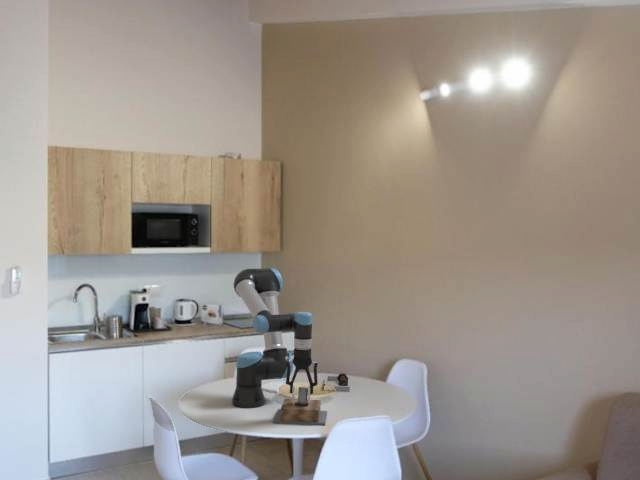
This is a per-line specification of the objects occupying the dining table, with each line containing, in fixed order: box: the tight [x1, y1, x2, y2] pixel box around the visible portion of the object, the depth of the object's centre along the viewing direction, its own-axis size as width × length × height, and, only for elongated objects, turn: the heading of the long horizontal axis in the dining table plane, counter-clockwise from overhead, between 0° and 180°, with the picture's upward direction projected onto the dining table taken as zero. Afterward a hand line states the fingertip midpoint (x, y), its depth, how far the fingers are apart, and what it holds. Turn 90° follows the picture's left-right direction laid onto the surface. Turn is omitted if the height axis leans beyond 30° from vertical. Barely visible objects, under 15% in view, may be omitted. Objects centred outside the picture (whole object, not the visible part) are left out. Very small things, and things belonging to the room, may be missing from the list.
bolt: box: [337, 373, 348, 386], centre depth 350 cm, size 6×5×15 cm
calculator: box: [261, 379, 286, 394], centre depth 344 cm, size 13×20×2 cm, turn 148°
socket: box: [272, 398, 328, 426], centre depth 292 cm, size 22×18×6 cm
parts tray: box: [323, 375, 351, 392], centre depth 351 cm, size 13×22×2 cm, turn 177°
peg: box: [297, 386, 309, 406], centre depth 292 cm, size 4×4×12 cm
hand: (301, 400), depth 292 cm, fingers open, 6 cm apart
